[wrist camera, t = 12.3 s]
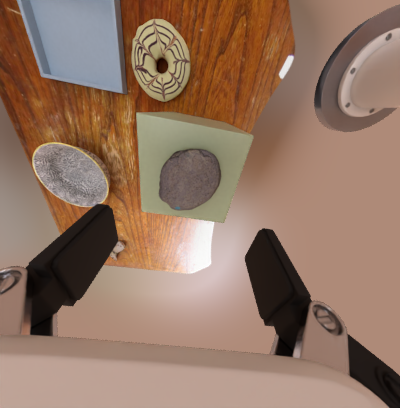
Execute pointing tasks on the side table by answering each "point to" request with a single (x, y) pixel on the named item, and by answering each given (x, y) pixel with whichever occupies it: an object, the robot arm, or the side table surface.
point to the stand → (181, 140)
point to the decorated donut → (156, 49)
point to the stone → (189, 179)
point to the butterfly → (117, 249)
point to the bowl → (72, 173)
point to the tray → (77, 41)
